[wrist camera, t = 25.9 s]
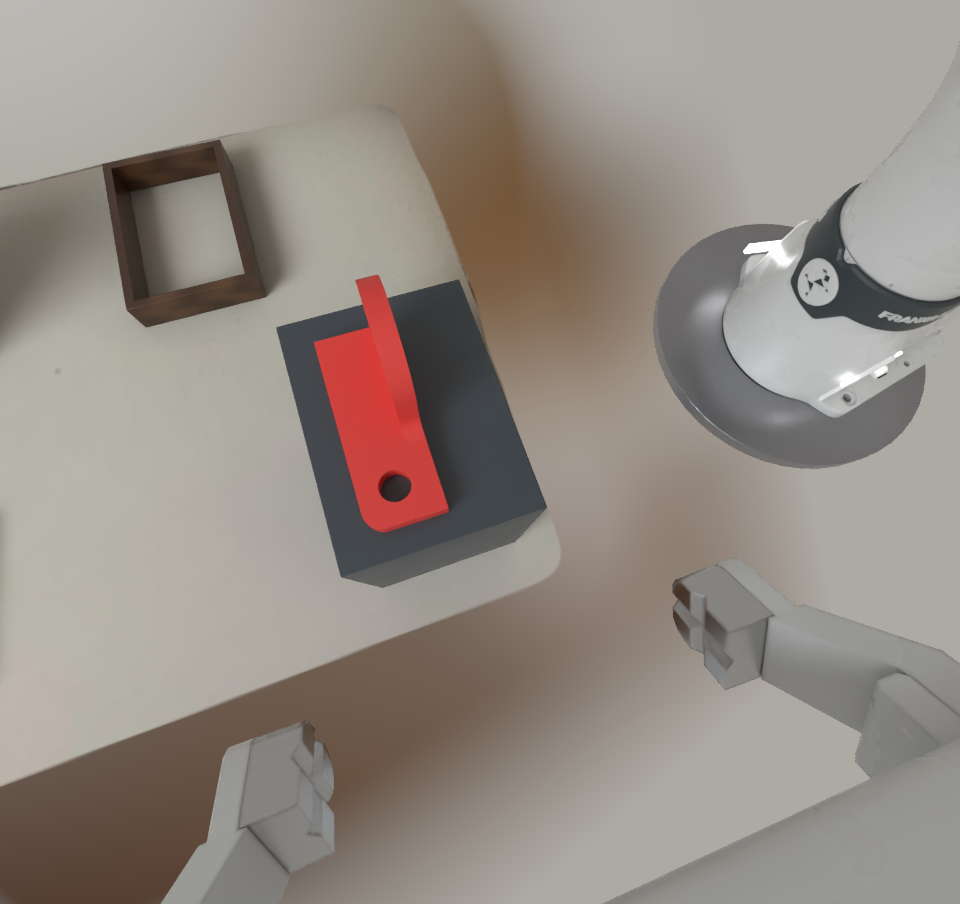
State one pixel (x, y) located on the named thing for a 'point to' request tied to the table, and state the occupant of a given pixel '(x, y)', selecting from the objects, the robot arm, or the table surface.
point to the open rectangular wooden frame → (118, 187)
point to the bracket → (380, 416)
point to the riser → (449, 434)
